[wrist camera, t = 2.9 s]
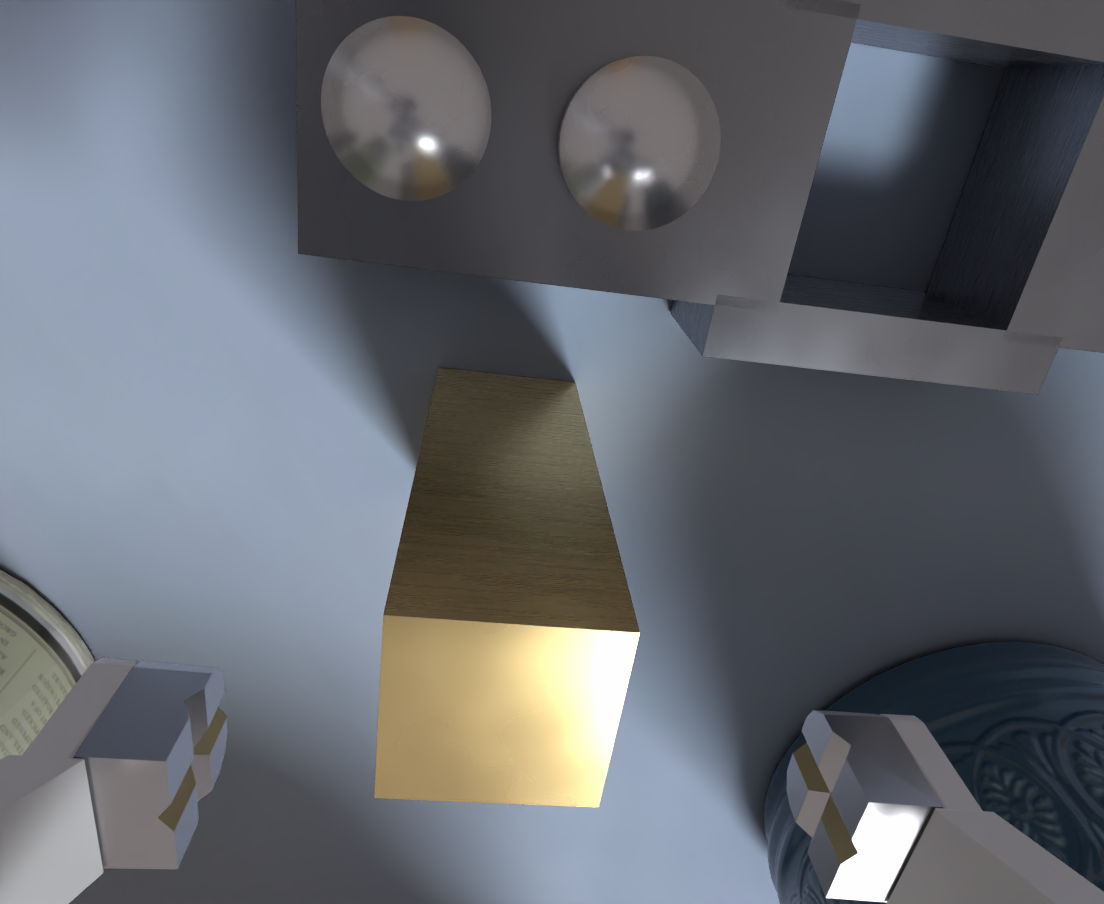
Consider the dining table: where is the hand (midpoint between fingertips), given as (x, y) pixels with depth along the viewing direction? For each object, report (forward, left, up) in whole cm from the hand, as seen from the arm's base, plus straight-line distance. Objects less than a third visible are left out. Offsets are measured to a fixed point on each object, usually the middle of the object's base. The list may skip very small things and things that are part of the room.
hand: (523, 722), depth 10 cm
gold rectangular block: (0, 0, -9) cm, 9 cm away
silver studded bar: (-7, +7, -9) cm, 13 cm away
